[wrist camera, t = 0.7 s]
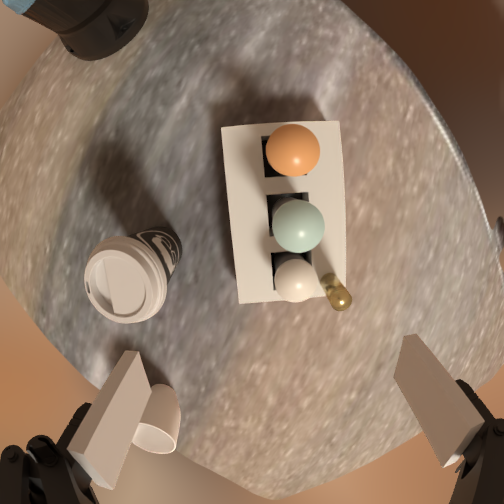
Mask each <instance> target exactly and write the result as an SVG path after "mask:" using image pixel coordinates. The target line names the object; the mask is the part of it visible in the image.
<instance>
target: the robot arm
mask: <svg viewBox="0 0 504 504" xmlns="http://www.w3.org/2000/svg"><path fill="white" fill-rule="evenodd" d="M2 1H3V3H4V4H5V5H6V6H7V7H9V8H10V9H12V10H13V11H15V12H16V13H17V14H21V15H23V16H25V17H27V18H29V19H31V20H33V21H35V22H37V23H39V24H41V25H43V26H45V27H46V28H48V29H50V30H52V31H54V32H56V33H57V34H58V35H59V37H60V39H61V41H62V42H63V44H64V46H65V48H66V49H67V51H68V52H69V53H71V54H72V55H74V56H75V57H77V58H79V59H82V60H86V61H93V60H98V59H102V58H105V57H107V56H109V55H111V54H113V53H115V52H117V51H118V50H120V49H121V48H123V47H124V46H125V45H126V44H128V43H129V42H130V41H131V40H132V39H133V38H134V37H135V36H136V34H137V33H138V32H139V31H140V29H141V28H142V26H143V24H144V22H145V20H146V18H147V15H148V10H149V5H148V1H147V0H2ZM394 379H395V381H396V382H397V384H398V386H399V388H400V389H401V391H402V393H403V395H404V396H405V398H406V400H407V402H408V404H409V405H410V407H411V409H412V411H413V413H414V414H415V416H416V418H417V420H418V422H419V424H420V425H421V427H422V429H423V431H424V433H425V435H426V437H427V439H428V440H429V442H430V444H431V446H432V448H433V450H434V452H435V454H436V456H437V458H438V460H439V462H440V464H441V466H442V468H444V467H446V466H448V465H450V464H452V463H455V462H457V460H458V459H459V457H460V456H461V455H462V454H463V456H464V458H465V459H464V460H463V462H462V463H461V464H460V465H459V467H458V468H457V469H456V471H455V473H457V472H458V471H459V470H460V473H459V476H458V479H457V482H456V485H455V489H454V492H453V495H452V497H451V500H450V502H449V504H504V419H502V418H501V419H495V418H494V417H493V415H492V414H491V413H490V411H489V410H488V409H487V407H486V406H485V405H484V403H483V402H482V401H481V400H480V399H479V398H478V396H477V394H476V393H474V391H473V389H472V388H471V387H470V386H469V384H467V383H466V382H464V381H463V380H461V379H459V380H456V381H455V380H454V379H453V378H452V377H451V375H450V374H449V373H448V372H447V370H446V369H445V368H444V367H443V365H442V364H441V363H440V362H439V360H438V359H437V358H436V357H435V355H434V354H433V353H432V352H431V351H430V349H429V348H428V347H427V346H426V345H425V343H424V342H423V341H422V340H421V339H420V338H419V336H418V335H417V334H412V335H407V336H404V338H403V342H402V346H401V351H400V355H399V358H398V362H397V366H396V370H395V373H394ZM151 392H152V391H151V388H150V385H149V382H148V379H147V376H146V373H145V370H144V367H143V364H142V361H141V358H140V354H139V351H126V350H125V352H124V353H123V355H122V356H121V358H120V359H119V361H118V363H117V364H116V366H115V367H114V369H113V371H112V372H111V374H110V375H109V377H108V379H107V380H106V382H105V384H104V385H103V387H102V389H101V390H100V392H99V394H98V395H97V397H96V399H95V400H94V402H93V404H90V403H84V404H83V405H82V406H80V407H79V408H78V409H77V411H76V412H75V414H74V415H73V419H71V420H70V422H69V425H67V427H66V429H65V430H64V432H63V434H62V435H61V437H60V439H59V440H58V442H57V444H56V445H55V443H54V442H53V441H52V439H50V438H49V437H48V436H45V435H37V436H35V437H33V438H32V439H31V440H30V441H29V442H28V444H27V447H26V451H27V452H28V453H29V454H27V453H25V452H23V450H22V449H21V448H20V447H19V446H16V445H10V446H8V447H6V448H5V449H4V450H3V452H2V454H1V459H0V504H99V502H98V500H97V498H96V495H95V493H94V491H93V489H92V487H91V486H90V482H91V480H93V481H94V482H95V483H96V484H97V485H98V486H101V487H104V488H108V489H111V490H114V487H115V484H116V482H117V479H118V477H119V474H120V471H121V468H122V466H123V463H124V460H125V458H126V455H127V452H128V450H129V447H130V444H131V442H132V440H133V437H134V434H135V432H136V429H137V427H138V424H139V422H140V419H141V417H142V414H143V412H144V409H145V407H146V404H147V402H148V399H149V397H150V395H151ZM460 468H461V469H460Z"/></svg>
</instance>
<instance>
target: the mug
mask: <svg viewBox="0 0 504 504" xmlns="http://www.w3.org/2000/svg"><path fill="white" fill-rule="evenodd" d="M151 391H152V392H151V395H150V397H149V399H148V402H147V404H146V407H145V409H144V412H143V414H142V417H141V419H140V422H139V424H138V427H137V429H136V432H135V434H134V437H133V440H132V443H134V444H135V445H137V446H138V447H140V448H142V449H144V450H146V451H149V452H153V453H158V454H166V453H170V452H172V451H174V450H175V448H176V443H177V437H178V432H179V426H180V419H181V412H180V407H179V403H178V399H177V395H176V393H175V391H174V390H173V389H172V388H171V387H169V386H167V385H165V384H155V385H153V386H152V387H151Z"/></svg>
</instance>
